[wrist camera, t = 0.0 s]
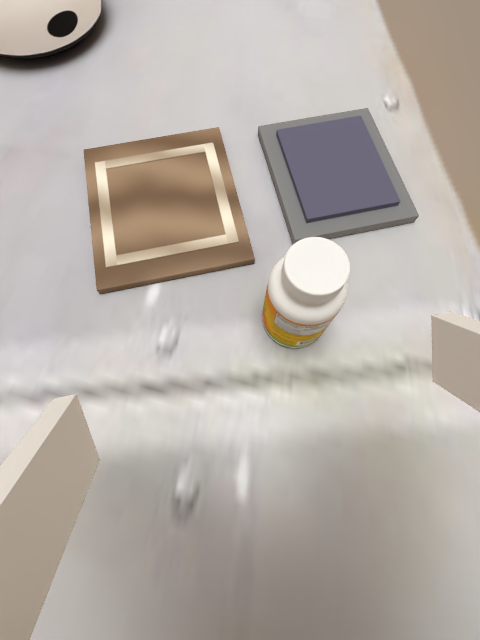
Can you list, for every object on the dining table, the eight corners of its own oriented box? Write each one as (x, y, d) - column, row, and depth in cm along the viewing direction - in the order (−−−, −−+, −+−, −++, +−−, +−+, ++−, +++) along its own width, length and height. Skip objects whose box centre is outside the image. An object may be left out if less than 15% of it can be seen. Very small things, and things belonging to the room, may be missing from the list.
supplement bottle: (276, 281, 31) (292, 213, 22) (333, 305, 30) (374, 245, 21) (251, 333, 29) (257, 284, 20) (310, 359, 29) (345, 320, 19)
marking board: (254, 263, 31) (254, 258, 31) (100, 294, 30) (96, 289, 30) (219, 133, 37) (218, 126, 36) (86, 155, 36) (83, 148, 35)
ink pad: (413, 222, 33) (422, 211, 32) (293, 245, 32) (296, 236, 31) (364, 116, 38) (369, 102, 36) (257, 134, 37) (258, 121, 35)
